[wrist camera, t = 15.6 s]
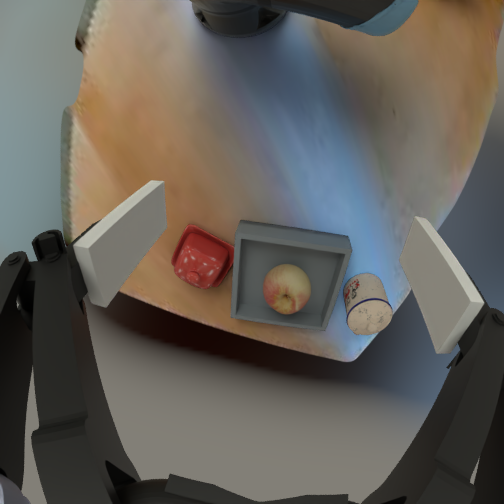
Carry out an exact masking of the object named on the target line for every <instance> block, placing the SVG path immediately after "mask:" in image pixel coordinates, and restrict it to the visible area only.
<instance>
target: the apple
mask: <svg viewBox="0 0 504 504" xmlns="http://www.w3.org/2000/svg"><path fill="white" fill-rule="evenodd" d="M263 294H264V298H265V300H266V302H267V303H268V305H269V306H270V307H272V308H273V309H274V310H276V311H277V312H279V313H281V314H293V313H295V312H297V311H299V310H300V309H302V308H303V307H304V306H305V305H306V303H307V302H308V300H309V298H310V295H311V284H310V280H309V278H308V276H307V274H306V273H305V272H304V271H303V270H302V269H301V268H299V267H297V266H295V265H291V264H282V265H278V266H276V267H274V268H273V269H271V270H270V271H269V272H268V273H267V275H266V276H265V279H264V283H263Z"/></svg>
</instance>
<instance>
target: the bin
mask: <svg viewBox="0 0 504 504" xmlns="http://www.w3.org/2000/svg"><path fill="white" fill-rule="evenodd" d="M351 253H352V247H351V244H350V241H349V238H348V236H345V235H339V234H332V233H326V232H320V231H313V230H307V229H300V228H294V227H287V226H280V225H273V224H266V223H259V222H252V221H245V220H240V223H239V225H238V227H237V230H236V232H235V247H234V264H233V281H232V300H231V318H236V319H242V320H248V321H254V322H261V323H267V324H274V325H281V326H289V327H296V328H304V329H312V330H321V331H325V330H326V327H327V324H328V322H329V319H330V316H331V313H332V311H333V308H334V305H335V302H336V299H337V296H338V293H339V290H340V288H341V284H342V281H343V278H344V275H345V272H346V269H347V266H348V263H349V259H350V256H351ZM282 264H291V265H295V266H297V267H299V268H301V269H302V270H303V271H304V272H305V273H306V274H307V276H308V278H309V280H310V284H311V295H310V298H309V300H308V302H307V303H306V305H305V306H304V307H303V308H302V309H300V310H299V311H297V312H295V313H293V314H281V313H279V312H277V311H276V310H274V309H273V308H272V307H270V306H269V305H268V303H267V302H266V300H265V298H264V294H263V283H264V279H265V276H266V275H267V273H268V272H269V271H270V270H271V269H273V268H274V267H276V266H278V265H282Z"/></svg>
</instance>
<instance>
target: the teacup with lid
mask: <svg viewBox="0 0 504 504" xmlns="http://www.w3.org/2000/svg"><path fill="white" fill-rule="evenodd" d="M343 294H344V300H345V306H346V312H347V325H348V326H349V328H350V329H351V330H352V331H353V332H354V334H356V335H359V334H361V335H370V334H374V333H377V332H379V331H381V330H383V329H384V328H385V327H386V326H387V325H388V324H389V322H390V321H391V318H392V313H393V311H392V307H391V305H390V304H389V302H388V299H387V296H386V293H385V290H384V287H383V284H382V282H381V280H380V279H379V278H378V277H377V276H375V275H373V274H369V273H363V274H359V275H356V276H354V277H352V278H351V279H350V280H349V281H348V282H347V283H346V285H345V287H344V291H343Z"/></svg>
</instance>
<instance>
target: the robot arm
mask: <svg viewBox="0 0 504 504" xmlns="http://www.w3.org/2000/svg"><path fill="white" fill-rule="evenodd" d="M190 1H191V2H192V7H193V11H194V13H195V15H196V17H197V18H198V20H199V21H200V22H201V23H202V24H203V25H204V26H206V27H207V28H208V29H210V30H211V31H213V32H215V33H217V34H220V35H223V36H227V37H236V38H241V37H250V36H254V35H258V34H260V33H263V32H265V31H267V30H269V29H271V28H272V27H273V26H275V25H276V24H277V23H278V22H279V21H280V20H281V19H282V18H283V16H284V15H285V13H286V11H289V12H293V13H298V14H302V15H306V16H310V17H314V18H318V19H321V20H325V21H328V22H332V23H335V24H338V25H340V26H341V27H343V28H345V29H350V30H357V31H360V32H363V33H366V34H369V35H372V36H385V35H388V34H390V33H392V32H394V31H395V30H397V29H398V28H399V27H400V26H401V25H403V24H404V22H405V21H406V20H407V19H408V18H409V17H410V15H411V14H412V13H413V11H414V10H415V8H416V6H417V4H418V2H419V1H418V0H190ZM166 228H167V220H166V206H165V190H164V181H153V180H151V181H150V182H148V183H147V184H146V185H144V186H143V187H142V188H140V189H139V190H138V191H137V192H135V193H134V194H133V195H131V196H130V197H129V198H128V199H126V200H125V201H124V202H123V203H121V204H120V205H119V206H118V207H116V208H115V209H114V210H113V211H111V212H110V213H109V214H108V215H107V216H106V217H104V218H103V219H101V220H99V221H97V222H96V223H94V224H92V225H91V226H90V227H89V228H87V229H86V231H84V232H83V233H82V234H81V236H78V237H77V238H76V239H75V240H74V241H73V242H72V243H71V244H70V245H68V246H67V247H65V243H64V240H63V236H62V233H61V231H59V230H49V231H46V232H43V233H41V234H39V235H38V236H37V237H35V239H34V240H33V241H32V246H33V249H34V252H35V255H36V257H37V260H38V261H33V262H29V260H28V257H27V255H26V253H25V252H23V251H19V252H13V253H12V254H10V255H9V256H8V257H7V258H5V260H4V261H3V262H2V264H1V266H0V504H30V502H29V500H28V499H27V498H26V497H25V496H23V494H22V492H21V490H22V484H23V475H24V444H25V443H24V441H25V422H26V411H27V401H28V393H29V386H30V379H31V373H32V367H33V372H34V385H35V394H36V404H37V411H38V418H39V428H38V429H37V430H35V431H33V433H32V436H31V439H32V448H33V453H34V458H35V461H36V466H37V470H38V474H39V478H40V482H41V485H42V488H43V492H44V495H45V498H46V501H47V504H358V503H355V502H351V501H348V494H342V495H341V494H340V495H304V496H299V497H293V498H287V499H281V500H274V501H265V502H257V501H253V500H250V499H248V498H245V497H243V496H240V495H237V494H235V493H232V492H230V491H227V490H225V489H223V488H220V487H218V486H216V485H213V484H209V483H204V482H200V481H196V480H191V479H188V478H184V477H180V476H176V475H173V474H170V475H169V478H168V479H151V480H143V481H141V479H140V477H139V475H138V473H137V471H136V469H135V467H134V466H133V464H132V462H131V461H130V459H129V458H128V456H127V454H126V453H125V451H124V448H123V446H122V443H121V441H120V438H119V436H118V433H117V430H116V427H115V424H114V422H113V419H112V416H111V413H110V410H109V407H108V403H107V400H106V397H105V393H104V390H103V386H102V383H101V379H100V375H99V372H98V368H97V363H96V359H95V355H94V350H93V346H92V341H91V336H90V331H89V325H88V320H87V313H86V307H85V303H84V301H83V297H84V296H85V295H86V294H87V292H88V295H89V298H90V300H91V303H92V304H96V305H99V306H102V307H107V306H108V304H109V303H110V301H111V300H112V299H113V297H114V296H115V294H116V293H117V292H118V290H119V289H120V288H121V286H122V285H123V284H124V282H125V281H126V280H127V278H128V277H129V275H130V274H131V273H132V272H133V270H134V269H135V268H136V266H137V265H138V264H139V262H140V261H141V260H142V258H143V257H144V256H145V255H146V253H147V252H148V251H149V250H150V248H151V247H152V246H153V244H154V243H155V242H156V241H157V239H158V238H159V237H160V236H161V235H162V233H163V232H164V231H165V230H166ZM399 261H400V263H401V265H402V268H403V270H404V272H405V274H406V276H407V279H408V281H409V283H410V286H411V288H412V290H413V293H414V295H415V297H416V300H417V302H418V304H419V307H420V310H421V312H422V315H423V317H424V320H425V322H426V325H427V328H428V330H429V333H430V336H431V339H432V342H433V345H434V348H435V351H436V353H451V351H452V350H453V348H454V347H455V346H456V345H457V343H458V345H459V347H460V351H459V352H458V354H457V355H456V356H455V358H454V359H453V360H452V361H451V363H450V364H449V365H448V366H447V368H448V369H449V367H450V366H451V369H450V371H449V373H448V376H447V378H446V380H445V382H444V385H443V387H442V389H441V391H440V393H439V395H438V397H437V399H436V401H435V403H434V405H433V407H432V409H431V410H430V412H429V414H428V416H427V418H426V420H425V421H424V423H423V425H422V427H421V428H420V430H419V432H418V433H417V435H416V437H415V438H414V440H413V441H412V443H411V445H410V446H409V448H408V449H407V451H406V452H405V454H404V455H403V457H402V458H401V460H400V461H399V463H398V464H397V466H396V467H395V468H394V470H393V471H392V472H391V474H390V475H389V476H388V478H387V479H386V480H385V482H384V483H383V484H382V485H381V486H380V487H379V488H378V489H377V490H375V491H374V492H373V493H372V494H370V495H369V496H368V497H367V498H366V499H365V500H364V501H363V502H362V503H361V504H504V314H503V313H502V312H501V311H499V310H497V309H494V308H490V307H489V306H488V304H487V302H486V301H485V299H484V297H483V296H482V294H481V292H480V291H478V287H477V286H476V285H475V283H474V281H473V280H472V278H471V277H470V275H468V273H466V272H465V271H464V269H463V268H462V266H461V265H460V263H459V262H458V260H457V259H456V258H455V256H454V255H453V253H452V252H451V251H450V249H449V248H448V246H447V245H446V244H445V242H444V241H443V240H442V238H441V237H440V236H439V234H438V233H437V232H436V230H435V229H434V228H433V227H432V225H431V224H430V223H429V222H428V220H427V219H425V218H421V217H416V216H414V219H413V222H412V225H411V228H410V231H409V234H408V237H407V240H406V243H405V245H404V248H403V251H402V253H401V256H400V259H399ZM16 301H17V302H18V304H19V306H18V308H17V302H16ZM479 457H480V459H479ZM478 459H479V464H478V469H477V473H476V477H475V481H474V485H473V484H471V483H470V478H471V475H472V473H473V471H474V468H475V466H476V464H477V462H478Z"/></svg>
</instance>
